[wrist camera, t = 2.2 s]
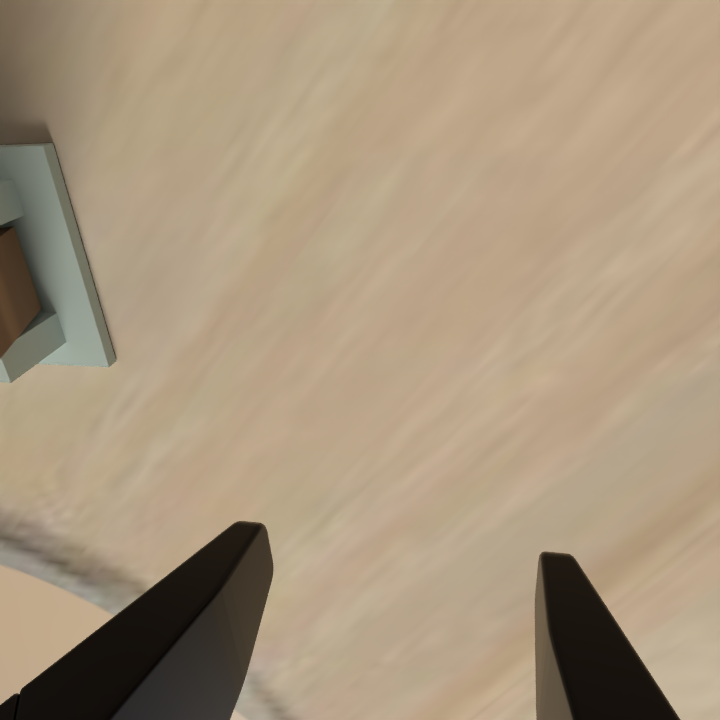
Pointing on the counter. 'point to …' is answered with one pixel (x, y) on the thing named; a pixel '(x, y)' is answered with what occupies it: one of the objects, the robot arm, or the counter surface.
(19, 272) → the brown wooden post
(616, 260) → the counter surface
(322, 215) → the counter surface
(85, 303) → the bracket
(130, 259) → the counter surface
